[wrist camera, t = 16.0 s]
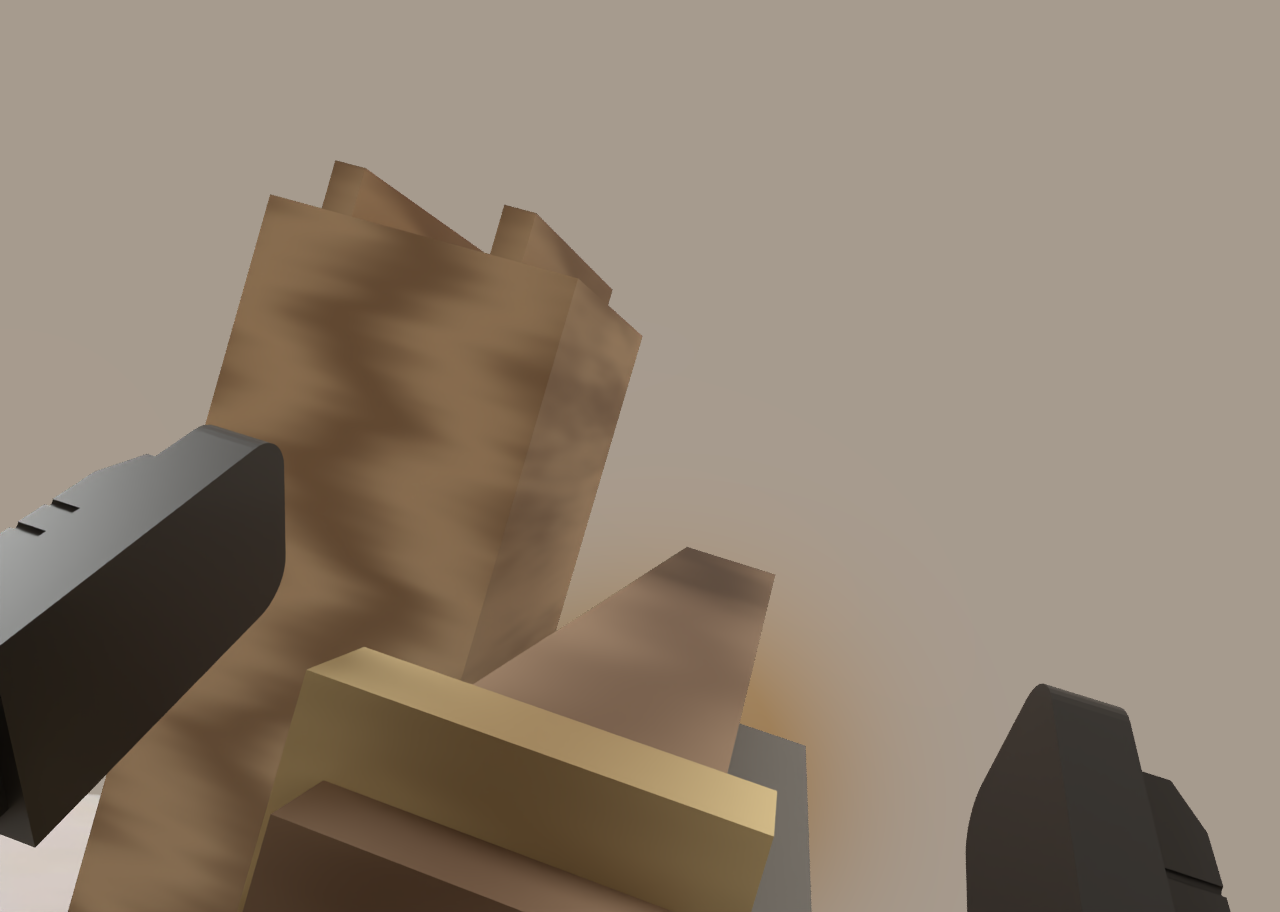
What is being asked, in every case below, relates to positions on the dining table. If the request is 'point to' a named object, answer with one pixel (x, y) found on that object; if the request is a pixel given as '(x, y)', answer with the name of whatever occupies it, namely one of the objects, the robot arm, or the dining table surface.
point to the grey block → (779, 816)
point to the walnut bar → (533, 768)
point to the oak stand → (376, 498)
